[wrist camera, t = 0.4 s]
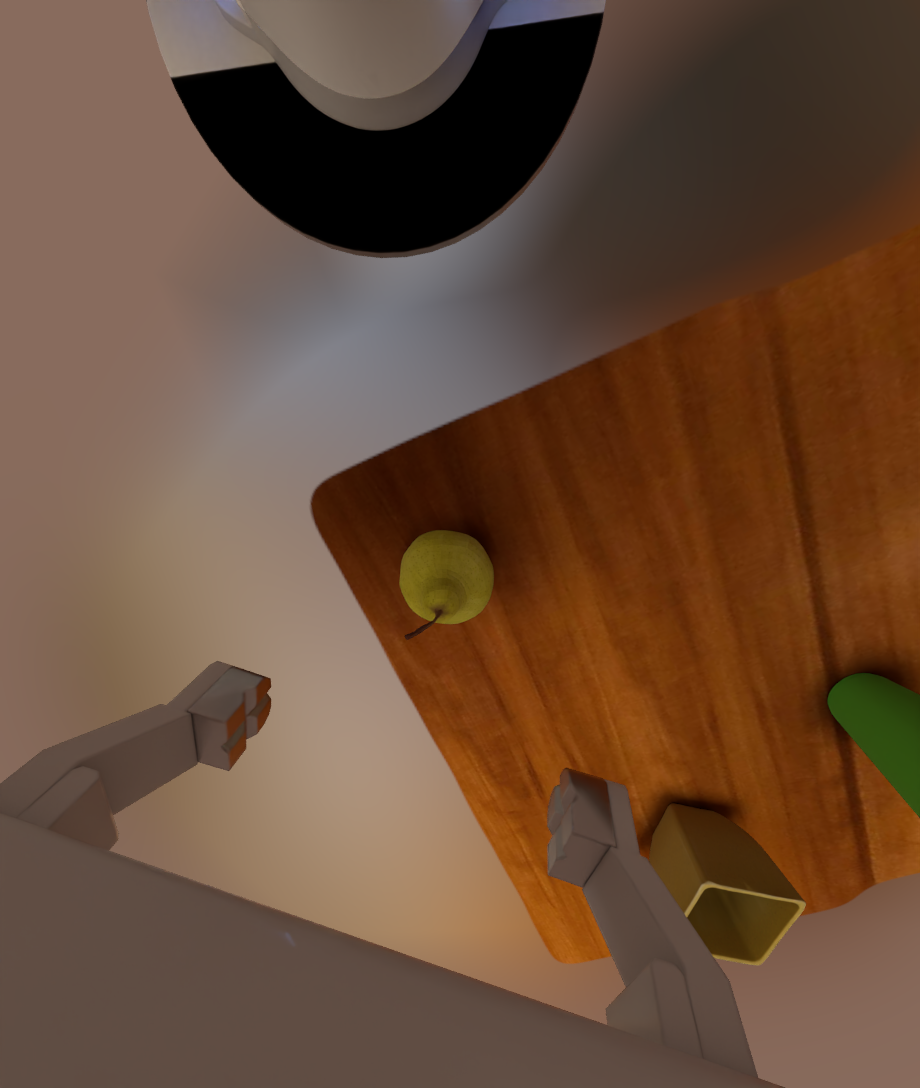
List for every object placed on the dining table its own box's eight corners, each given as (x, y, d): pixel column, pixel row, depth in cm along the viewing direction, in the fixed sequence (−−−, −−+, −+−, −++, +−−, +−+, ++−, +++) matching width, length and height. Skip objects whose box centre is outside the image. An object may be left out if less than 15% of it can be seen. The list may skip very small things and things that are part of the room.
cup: (785, 687, 37) (908, 800, 26) (889, 634, 35) (1066, 733, 24) (826, 750, 39) (955, 877, 29) (926, 703, 37) (1104, 822, 26)
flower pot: (626, 844, 44) (663, 950, 35) (656, 783, 41) (704, 884, 32) (705, 858, 44) (760, 967, 36) (740, 800, 41) (810, 903, 33)
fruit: (498, 525, 33) (512, 591, 21) (484, 602, 35) (490, 698, 24) (412, 513, 33) (379, 573, 21) (404, 591, 35) (370, 682, 23)
